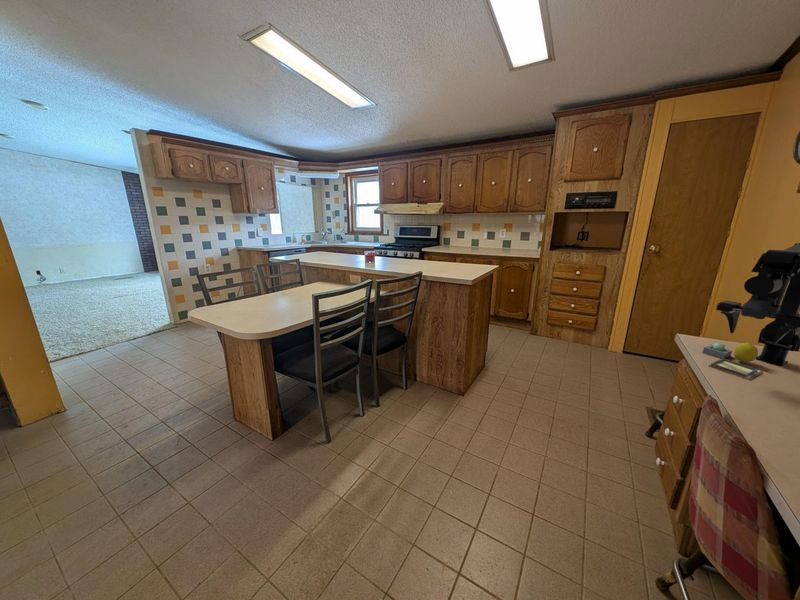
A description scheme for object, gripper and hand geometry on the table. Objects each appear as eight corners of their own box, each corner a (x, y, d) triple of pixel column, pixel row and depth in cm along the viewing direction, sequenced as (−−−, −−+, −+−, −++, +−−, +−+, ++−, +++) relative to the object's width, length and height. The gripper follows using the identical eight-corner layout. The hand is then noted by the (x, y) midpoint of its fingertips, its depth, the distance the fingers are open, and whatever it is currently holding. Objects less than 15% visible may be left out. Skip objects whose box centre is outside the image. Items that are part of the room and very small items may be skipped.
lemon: (758, 366, 104) (766, 346, 102) (739, 365, 105) (747, 345, 103) (744, 359, 109) (751, 340, 107) (726, 358, 110) (733, 339, 108)
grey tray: (722, 360, 109) (723, 356, 109) (762, 372, 100) (764, 369, 100) (708, 366, 105) (709, 362, 104) (748, 380, 96) (750, 376, 95)
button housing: (709, 349, 117) (711, 344, 116) (730, 356, 112) (732, 350, 111) (702, 352, 115) (704, 347, 114) (723, 359, 109) (725, 353, 109)
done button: (713, 349, 115) (716, 342, 114) (724, 352, 112) (726, 345, 111) (710, 350, 114) (712, 343, 113) (720, 354, 111) (723, 346, 110)
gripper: (715, 287, 94) (701, 332, 98) (810, 303, 77) (788, 355, 82) (731, 284, 98) (716, 326, 102) (824, 298, 82) (802, 348, 86)
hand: (752, 338), depth 93 cm, fingers open, 9 cm apart
